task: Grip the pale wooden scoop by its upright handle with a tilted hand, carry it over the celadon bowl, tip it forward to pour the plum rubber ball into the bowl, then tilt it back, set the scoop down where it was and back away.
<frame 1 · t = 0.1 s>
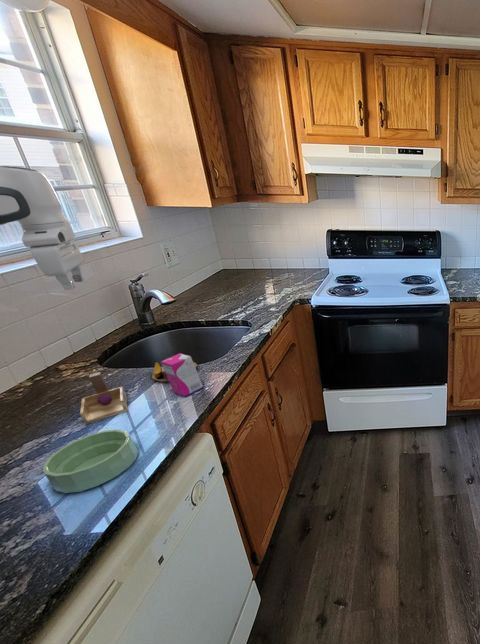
hand: (75, 285, 101), 34 cm above the counter, tool pointing down, fingers open, 8 cm apart
scoop: (107, 409, 105), on the counter, touching ball
supplement box: (189, 391, 113), on the counter
toy sandwich meal: (177, 374, 123), on the counter
ball: (104, 399, 106), point 2 cm above the counter, touching scoop
bowl: (99, 469, 83), on the counter
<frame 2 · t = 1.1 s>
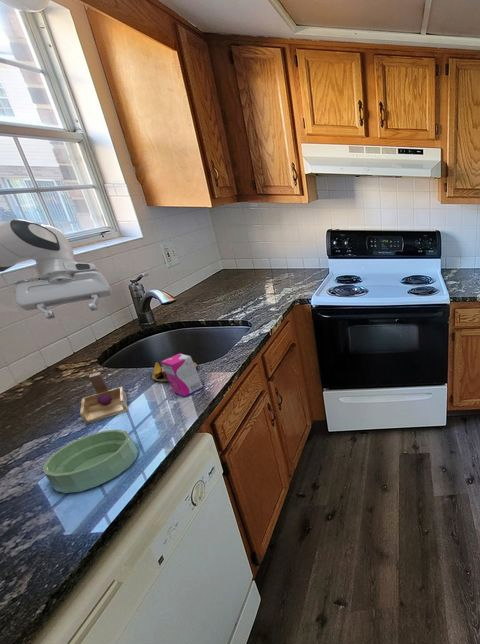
hand: (73, 313, 107), 25 cm above the counter, tool tilted 45°, fingers open, 8 cm apart
nothing on the counter moved.
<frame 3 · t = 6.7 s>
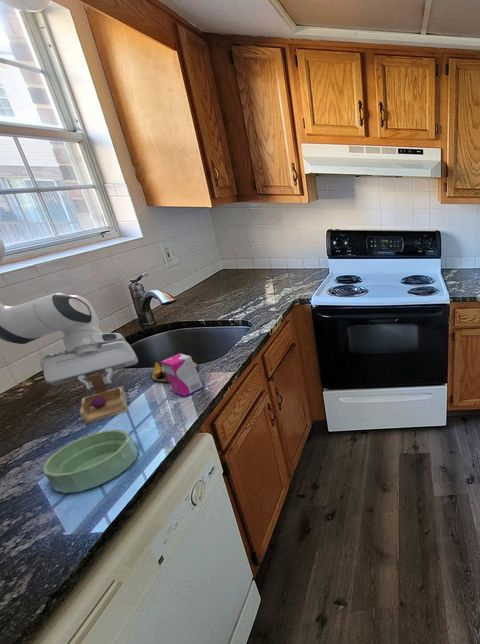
hand: (100, 386, 107), 5 cm above the counter, tool tilted 45°, fingers closed on scoop, 2 cm apart
scoop: (107, 409, 105), on the counter, touching ball, gripper
ball: (98, 402, 105), point 2 cm above the counter, tilted 55°, touching scoop
everything else where it was.
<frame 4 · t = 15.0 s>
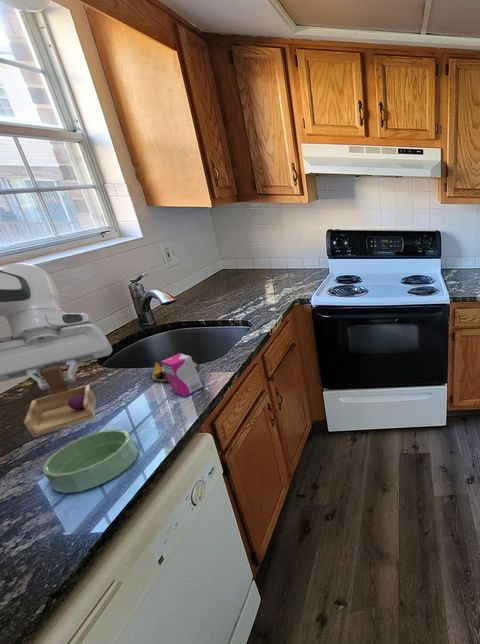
hand: (58, 384, 79), 20 cm above the counter, tool tilted 45°, fingers closed on scoop, 2 cm apart
scoop: (67, 416, 77), point 15 cm above the counter, touching ball, gripper
ball: (78, 402, 78), point 17 cm above the counter, tilted 106°, touching scoop
everything else where it was.
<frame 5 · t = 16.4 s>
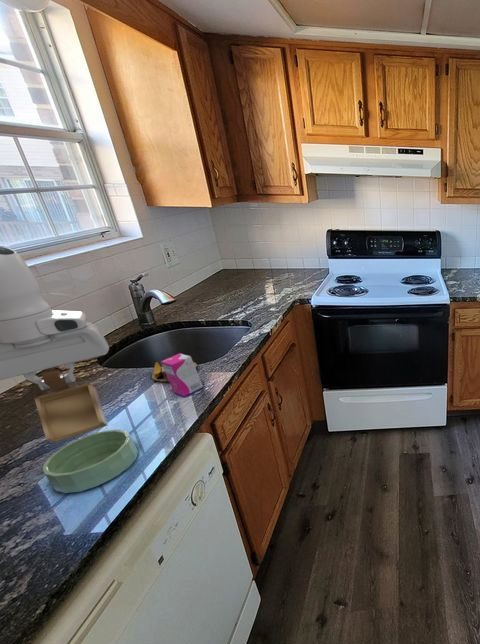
hand: (59, 384, 79), 20 cm above the counter, tool pointing down, fingers closed on scoop, 2 cm apart
scoop: (75, 414, 82), point 12 cm above the counter, tilted 45°, touching gripper
ball: (103, 465, 82), point 2 cm above the counter, tilted 135°, touching bowl
everything else where it was.
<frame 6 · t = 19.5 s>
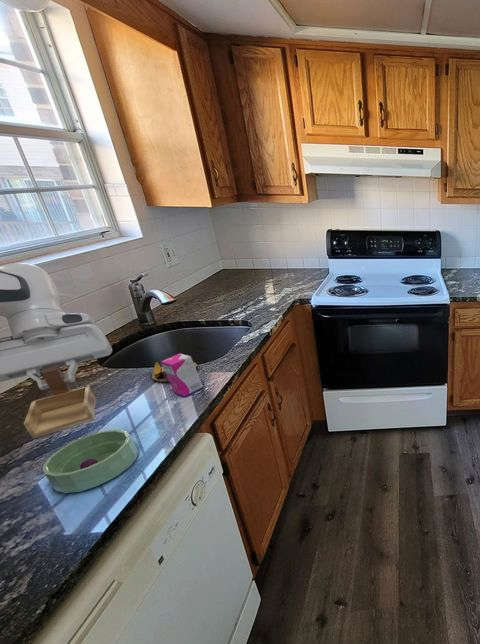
hand: (58, 385, 79), 20 cm above the counter, tool tilted 45°, fingers closed on scoop, 2 cm apart
scoop: (67, 417, 77), point 15 cm above the counter, touching gripper
ball: (89, 465, 82), point 2 cm above the counter, tilted 53°, touching bowl
everything else where it was.
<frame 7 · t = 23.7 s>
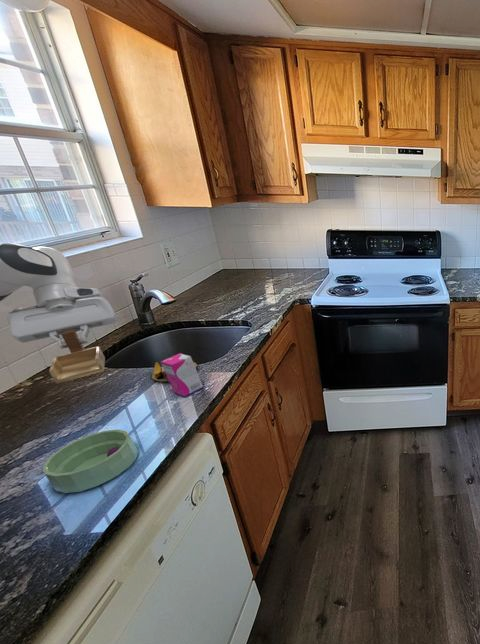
hand: (74, 344, 97), 20 cm above the counter, tool tilted 45°, fingers closed on scoop, 2 cm apart
scoop: (82, 369, 95), point 15 cm above the counter, touching gripper
ball: (115, 453, 85), point 2 cm above the counter, tilted 127°, touching bowl
everything else where it was.
when the fingers open (5 cm above the counter, at t = 28.5 s): scoop stays where it is, on the counter.
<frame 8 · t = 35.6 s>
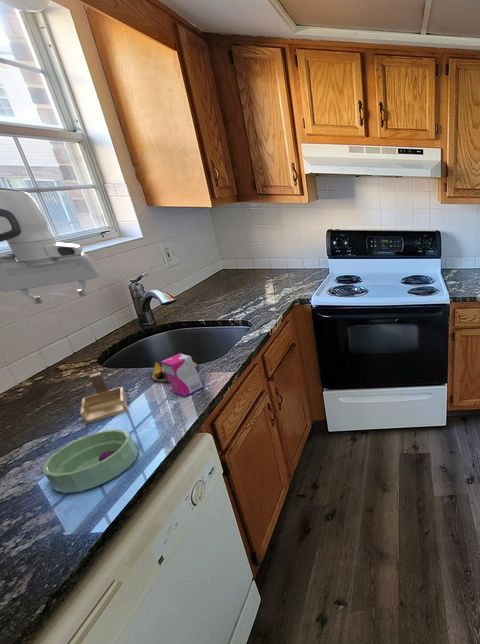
hand: (61, 299, 105), 29 cm above the counter, tool pointing down, fingers open, 8 cm apart
scoop: (107, 409, 105), on the counter
ball: (107, 457, 84), point 2 cm above the counter, tilted 138°, touching bowl
everything else where it was.
at the end: ball inside the target area in the bowl (2.2 cm from its centre), point 2.1 cm above the bowl's base; scoop tilted 0°; the gripper is holding nothing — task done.
